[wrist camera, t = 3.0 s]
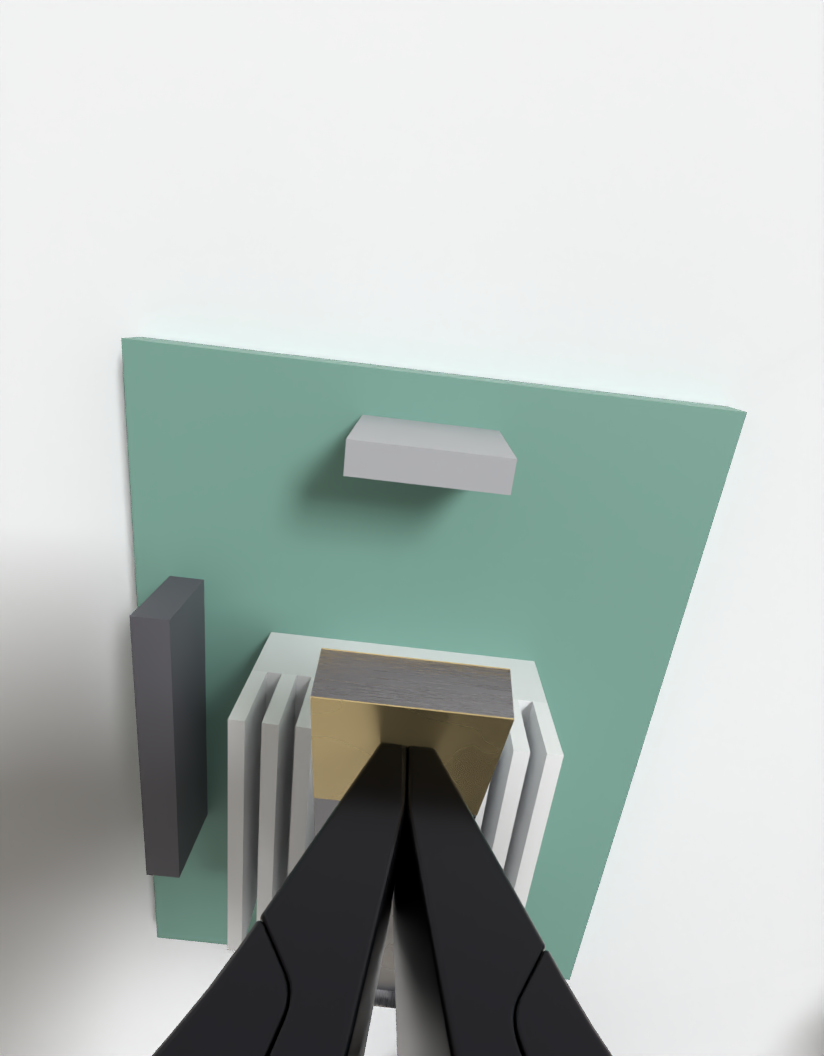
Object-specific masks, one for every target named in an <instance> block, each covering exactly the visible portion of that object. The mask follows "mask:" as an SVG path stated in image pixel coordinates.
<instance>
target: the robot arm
mask: <svg viewBox="0 0 824 1056" xmlns="http://www.w3.org/2000/svg"><path fill="white" fill-rule="evenodd" d="M393 893H394V895H393ZM392 900H393V941H394V970H395V999H396V1028H397V1056H612V1055H611V1053H610V1052H609V1050H608V1049H607V1047H606V1046H605V1044H604V1042H603V1041H602V1039H601V1038H600V1036H599V1035H598V1033H597V1032H596V1030H595V1029H594V1027H593V1026H592V1024H591V1022H590V1021H589V1019H588V1017H587V1016H586V1014H585V1012H584V1011H583V1009H582V1007H581V1006H580V1004H579V1002H578V1001H577V999H576V997H575V996H574V994H573V992H572V991H571V989H570V987H569V986H568V984H567V982H566V980H565V979H564V977H563V975H562V973H561V971H560V970H559V968H558V966H557V964H556V962H555V961H554V959H553V957H552V955H551V953H550V952H549V951H548V950H545V943H544V942H543V940H542V938H541V936H540V934H539V933H538V931H537V929H536V927H535V926H534V924H533V922H532V920H531V918H530V917H529V915H528V913H527V911H526V910H525V908H524V906H523V904H522V902H521V901H520V899H519V897H518V895H517V894H516V892H515V890H514V888H513V886H512V885H511V883H510V881H509V879H508V878H507V876H506V874H505V872H504V870H503V869H502V867H501V865H500V863H499V862H498V860H497V858H496V856H495V854H494V853H493V851H492V849H491V847H490V846H489V844H488V842H487V840H486V838H485V837H484V835H483V833H482V831H481V830H480V828H479V826H478V824H477V822H476V821H475V819H474V817H473V815H472V814H471V812H470V810H469V808H468V806H467V805H466V803H465V801H464V799H463V798H462V796H461V794H460V792H459V790H458V789H457V787H456V785H455V783H454V782H453V780H452V778H451V776H450V774H449V773H448V771H447V769H446V767H445V766H444V764H443V762H442V760H441V758H440V757H439V755H438V753H437V751H436V750H435V749H433V748H429V747H419V746H410V747H409V748H408V750H407V748H406V746H405V745H401V744H392V743H381V744H379V746H378V747H377V748H376V750H375V751H374V752H373V754H372V755H371V757H370V758H369V760H368V761H367V763H366V764H365V765H364V767H363V768H362V770H361V771H360V773H359V774H358V776H357V777H356V778H355V780H354V781H353V783H352V784H351V786H350V787H349V789H348V790H347V791H346V793H345V794H344V796H343V797H342V799H341V800H340V802H339V803H338V805H337V806H336V807H335V809H334V810H333V812H332V813H331V815H330V816H329V818H328V819H327V820H326V822H325V823H324V825H323V826H322V828H321V829H320V831H319V832H318V833H317V835H316V836H315V838H314V839H313V841H312V842H311V844H310V845H309V846H308V848H307V849H306V851H305V852H304V854H303V855H302V857H301V858H300V859H299V861H298V862H297V864H296V865H295V867H294V868H293V870H292V871H291V872H290V874H289V875H288V877H287V878H286V880H285V881H284V883H283V884H282V885H281V887H280V888H279V890H278V891H277V893H276V894H275V896H274V897H273V899H272V900H271V901H270V903H269V904H268V906H267V907H266V909H265V910H264V912H263V913H262V914H261V917H260V921H257V922H256V923H255V924H254V925H253V927H252V928H251V930H250V931H249V933H248V934H247V936H246V937H245V938H244V940H243V941H242V943H241V944H240V946H239V947H238V949H237V950H236V951H235V953H234V954H233V955H232V957H231V958H230V959H229V961H228V962H227V963H226V965H225V966H224V968H223V969H222V970H221V972H220V973H219V974H218V976H217V977H216V978H215V980H214V981H213V982H212V984H211V985H210V987H209V988H208V989H207V990H206V992H205V993H204V994H203V995H202V996H201V998H200V999H199V1000H198V1001H197V1003H196V1004H195V1005H194V1006H193V1007H192V1009H191V1010H190V1011H189V1012H188V1013H187V1015H186V1016H185V1017H184V1018H183V1020H182V1021H181V1022H180V1023H179V1024H178V1026H177V1027H176V1028H175V1029H174V1031H173V1032H172V1033H171V1034H170V1035H169V1036H168V1038H167V1039H166V1040H165V1041H164V1042H163V1043H162V1045H161V1046H160V1047H159V1048H158V1049H157V1050H156V1052H155V1053H154V1054H153V1055H152V1056H364V1052H365V1047H366V1041H367V1036H368V1031H369V1026H370V1020H371V1015H372V1010H373V1005H374V1000H375V994H376V989H377V984H378V979H379V973H380V968H381V963H382V958H383V952H384V947H385V942H386V937H387V931H388V926H389V920H390V914H391V908H392Z"/></svg>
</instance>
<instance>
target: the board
mask: <svg viewBox="0 0 824 1056" xmlns="http://www.w3.org/2000/svg"><path fill="white" fill-rule="evenodd" d="M121 339H122V356H123V373H124V389H125V406H126V423H127V439H128V456H129V473H130V489H131V506H132V523H133V539H134V556H135V572H136V589H137V606H138V608H137V609H136V610H135V611H134V612H133V613H132V614H131V615H130V628H131V643H132V658H133V674H134V689H135V704H136V719H137V734H138V750H139V765H140V780H141V795H142V810H143V826H144V841H145V856H146V871H147V875H154V889H155V906H156V922H157V937H159V938H169V939H179V940H188V941H198V942H208V943H218V944H227V950H235V951H236V950H237V949H238V947H239V946H240V944H241V943H242V941H243V940H244V938H245V937H246V936H247V934H248V933H249V931H250V930H251V928H252V927H253V925H254V924H255V923H256V922H257V921H260V917H261V914H262V913H263V912H264V910H265V909H266V907H267V906H268V904H269V903H270V901H271V900H272V899H273V897H274V896H275V894H276V893H277V891H278V890H279V888H280V887H281V885H282V884H283V883H284V881H285V880H286V878H287V877H288V875H289V874H290V872H291V871H292V870H293V868H294V867H295V865H296V864H297V862H298V861H299V859H300V858H301V857H302V855H303V854H304V852H305V851H306V849H307V848H308V846H309V845H310V844H311V842H312V841H313V839H314V838H315V826H314V798H313V770H312V738H311V707H310V696H311V692H312V687H313V683H314V679H315V674H316V670H317V665H318V661H319V657H320V652H321V648H327V649H337V650H346V651H355V652H364V653H373V654H382V655H391V656H400V657H409V658H418V659H427V660H436V661H445V662H454V663H463V664H472V665H481V666H490V667H499V668H508V669H510V673H511V685H512V697H513V709H514V722H513V725H512V727H511V730H510V732H509V735H508V737H507V740H506V743H505V745H504V748H503V750H502V753H501V755H500V758H499V761H498V763H497V766H496V768H495V771H494V773H493V776H492V778H491V781H490V784H489V786H488V789H487V791H486V794H485V796H484V799H483V802H482V804H481V807H480V809H479V812H478V814H477V816H476V818H475V821H476V822H477V824H478V826H479V828H480V830H481V831H482V833H483V835H484V837H485V838H486V840H487V842H488V844H489V846H490V847H491V849H492V851H493V853H494V854H495V856H496V858H497V860H498V862H499V863H500V865H501V867H502V869H503V870H504V872H505V874H506V876H507V878H508V879H509V881H510V883H511V885H512V886H513V888H514V890H515V892H516V894H517V895H518V897H519V899H520V901H521V902H522V904H523V906H524V908H525V910H526V911H527V913H528V915H529V917H530V918H531V920H532V922H533V924H534V926H535V927H536V929H537V931H538V933H539V934H540V936H541V938H542V940H543V942H544V943H545V950H548V951H549V952H550V953H551V955H552V957H553V959H554V961H555V962H556V964H557V966H558V968H559V970H560V971H561V973H562V975H563V977H564V979H568V980H570V976H571V973H572V970H573V967H574V964H575V960H576V957H577V954H578V951H579V948H580V944H581V941H582V938H583V935H584V932H585V928H586V925H587V922H588V919H589V916H590V912H591V909H592V906H593V903H594V900H595V896H596V893H597V890H598V887H599V884H600V880H601V877H602V874H603V871H604V868H605V864H606V861H607V858H608V855H609V852H610V848H611V845H612V842H613V839H614V836H615V832H616V829H617V826H618V823H619V820H620V816H621V813H622V810H623V807H624V804H625V800H626V797H627V794H628V791H629V788H630V784H631V781H632V778H633V775H634V772H635V768H636V765H637V762H638V759H639V756H640V752H641V749H642V746H643V743H644V740H645V736H646V733H647V730H648V727H649V724H650V720H651V717H652V714H653V711H654V708H655V704H656V701H657V698H658V695H659V692H660V688H661V685H662V682H663V679H664V676H665V672H666V669H667V666H668V663H669V660H670V657H671V653H672V650H673V647H674V644H675V641H676V637H677V634H678V631H679V628H680V625H681V621H682V618H683V615H684V612H685V609H686V605H687V602H688V599H689V596H690V593H691V589H692V586H693V583H694V580H695V577H696V573H697V570H698V567H699V564H700V561H701V557H702V554H703V551H704V548H705V545H706V541H707V538H708V535H709V532H710V529H711V525H712V522H713V519H714V516H715V513H716V509H717V506H718V503H719V500H720V497H721V493H722V490H723V487H724V484H725V481H726V477H727V474H728V471H729V468H730V465H731V461H732V458H733V455H734V452H735V449H736V445H737V442H738V439H739V436H740V433H741V429H742V426H743V423H744V420H745V417H746V413H747V412H744V411H741V410H737V409H734V408H730V407H726V406H718V405H709V404H701V403H693V402H684V401H676V400H667V399H659V398H650V397H642V396H634V395H625V394H617V393H608V392H600V391H591V390H583V389H574V388H566V387H558V386H549V385H541V384H532V383H524V382H515V381H507V380H499V379H490V378H482V377H473V376H465V375H456V374H448V373H440V372H431V371H423V370H414V369H406V368H397V367H389V366H381V365H372V364H364V363H355V362H347V361H338V360H330V359H322V358H313V357H305V356H296V355H288V354H279V353H271V352H263V351H254V350H246V349H237V348H229V347H220V346H212V345H203V344H195V343H187V342H178V341H170V340H161V339H153V338H144V337H132V338H121Z"/></svg>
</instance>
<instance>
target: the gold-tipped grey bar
mask: <svg viewBox="0 0 824 1056" xmlns="http://www.w3.org/2000/svg"><path fill="white" fill-rule="evenodd" d="M310 707H311V738H312V770H313V798H314V826H315V836H316V835H317V833H318V832H319V831H320V829H321V828H322V826H323V825H324V823H325V822H326V820H327V819H328V818H329V816H330V815H331V813H332V812H333V810H334V809H335V807H336V806H337V805H338V803H339V802H340V800H341V799H342V797H343V796H344V794H345V793H346V791H347V790H348V789H349V787H350V786H351V784H352V783H353V781H354V780H355V778H356V777H357V776H358V774H359V773H360V771H361V770H362V768H363V767H364V765H365V764H366V763H367V761H368V760H369V758H370V757H371V755H372V754H373V752H374V751H375V750H376V748H377V747H378V746H379V744H381V743H392V744H401V745H405V746H406V748H407V750H408V748H409V747H410V746H419V747H429V748H433V749H435V750H436V751H437V753H438V755H439V757H440V758H441V760H442V762H443V764H444V766H445V767H446V769H447V771H448V773H449V774H450V776H451V778H452V780H453V782H454V783H455V785H456V787H457V789H458V790H459V792H460V794H461V796H462V798H463V799H464V801H465V803H466V805H467V806H468V808H469V810H470V812H471V814H472V815H473V817H474V819H475V818H476V816H477V814H478V812H479V809H480V807H481V804H482V802H483V799H484V796H485V794H486V791H487V789H488V786H489V784H490V781H491V778H492V776H493V773H494V771H495V768H496V766H497V763H498V761H499V758H500V755H501V753H502V750H503V748H504V745H505V743H506V740H507V737H508V735H509V732H510V730H511V727H512V725H513V722H514V709H513V697H512V685H511V673H510V669H508V668H499V667H490V666H481V665H472V664H463V663H454V662H445V661H436V660H427V659H418V658H409V657H400V656H391V655H382V654H373V653H364V652H355V651H346V650H337V649H327V648H321V652H320V657H319V661H318V665H317V670H316V674H315V679H314V683H313V687H312V692H311V696H310ZM393 895H394V893H393ZM373 1006H379V1007H389V1008H396V999H395V970H394V941H393V900H392V908H391V914H390V920H389V926H388V931H387V937H386V942H385V947H384V952H383V958H382V963H381V968H380V973H379V979H378V984H377V989H376V994H375V1000H374V1005H373Z"/></svg>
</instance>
